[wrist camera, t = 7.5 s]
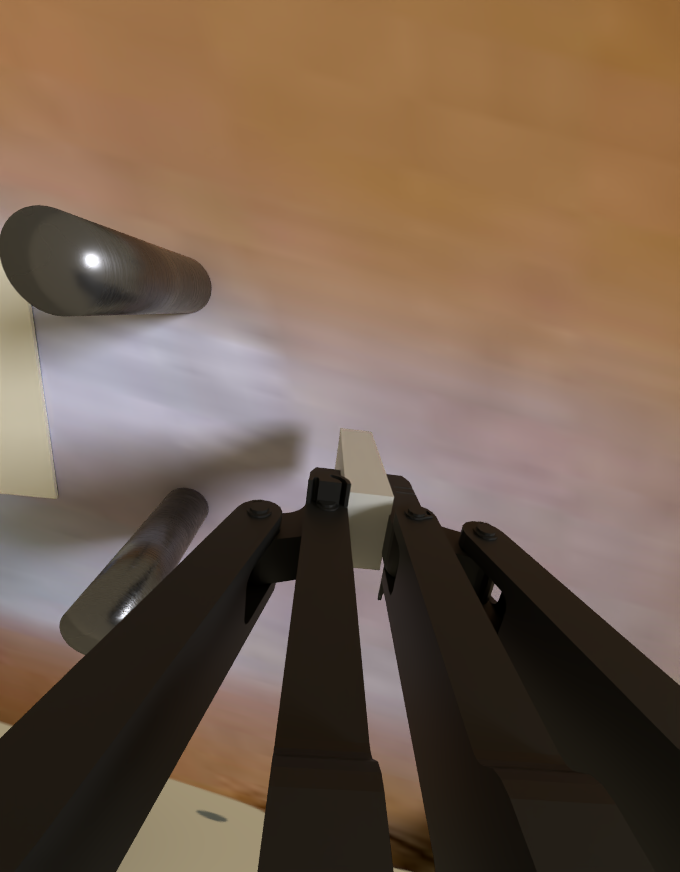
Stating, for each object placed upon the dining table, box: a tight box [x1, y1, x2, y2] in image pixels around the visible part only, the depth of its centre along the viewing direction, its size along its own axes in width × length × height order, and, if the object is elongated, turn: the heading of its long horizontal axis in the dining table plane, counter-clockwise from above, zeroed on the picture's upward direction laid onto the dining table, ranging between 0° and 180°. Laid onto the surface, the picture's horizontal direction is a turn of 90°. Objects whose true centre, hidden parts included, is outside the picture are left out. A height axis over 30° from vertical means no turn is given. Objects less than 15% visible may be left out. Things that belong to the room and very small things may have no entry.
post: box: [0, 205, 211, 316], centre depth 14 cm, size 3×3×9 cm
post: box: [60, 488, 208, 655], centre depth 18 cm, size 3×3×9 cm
